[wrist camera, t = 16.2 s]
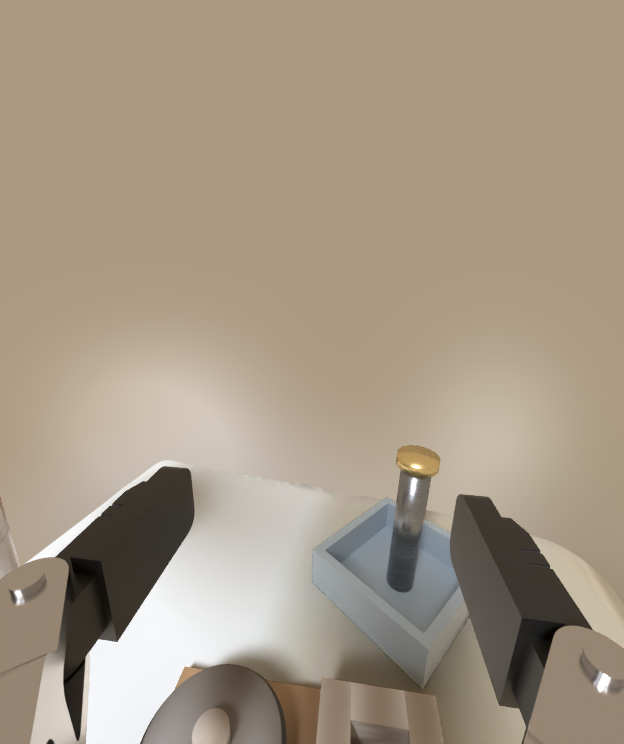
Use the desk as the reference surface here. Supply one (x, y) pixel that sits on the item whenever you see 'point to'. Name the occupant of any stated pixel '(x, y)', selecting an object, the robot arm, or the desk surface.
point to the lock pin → (410, 513)
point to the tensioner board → (289, 712)
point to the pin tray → (387, 606)
